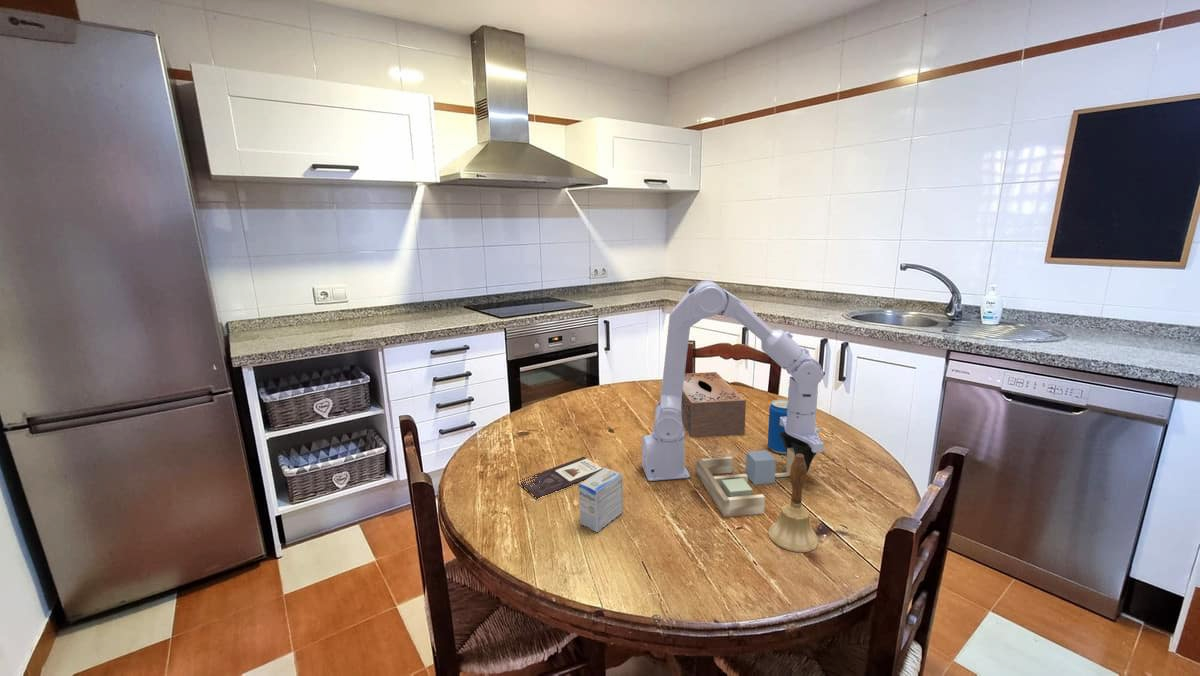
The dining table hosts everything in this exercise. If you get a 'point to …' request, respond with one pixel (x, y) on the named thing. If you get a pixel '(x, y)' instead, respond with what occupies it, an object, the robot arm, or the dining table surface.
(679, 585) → the dining table surface
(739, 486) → the plain block
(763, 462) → the corded block
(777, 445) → the beverage can
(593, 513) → the medicine box
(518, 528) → the dining table surface
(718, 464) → the rack
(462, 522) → the dining table surface
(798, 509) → the hand bell
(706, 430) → the tissue box cover
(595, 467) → the chocolate bar
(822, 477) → the dining table surface
